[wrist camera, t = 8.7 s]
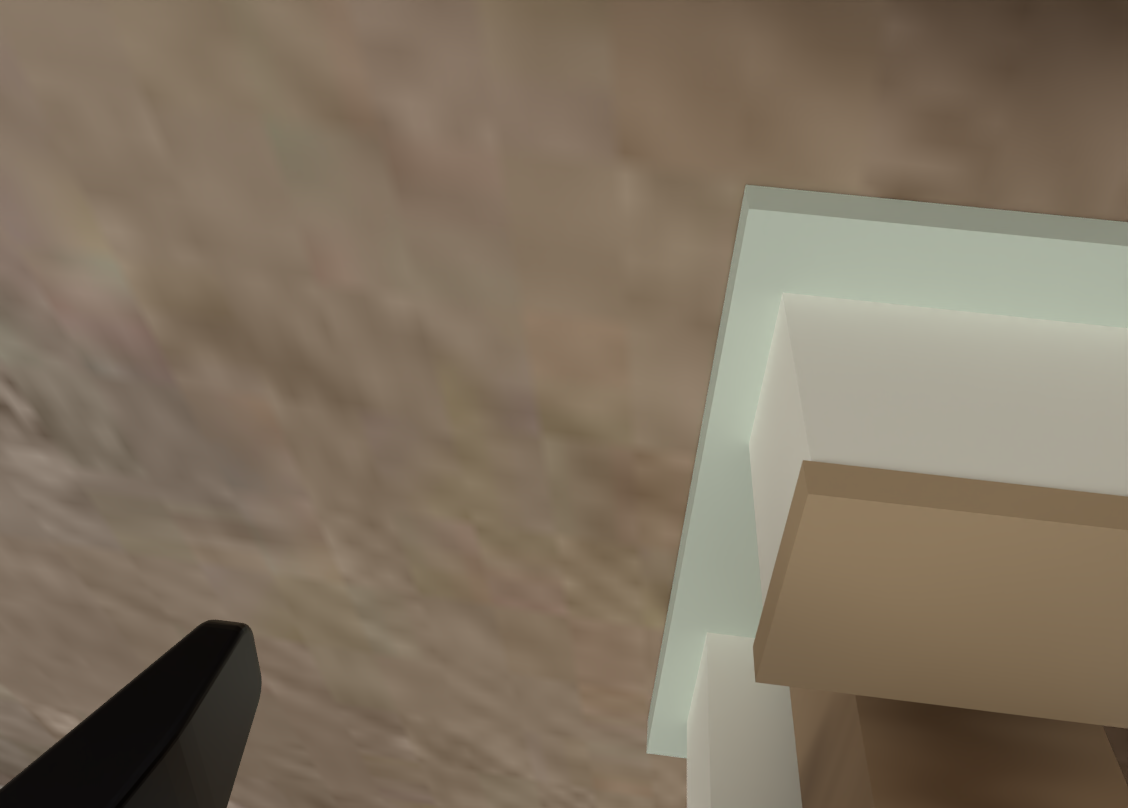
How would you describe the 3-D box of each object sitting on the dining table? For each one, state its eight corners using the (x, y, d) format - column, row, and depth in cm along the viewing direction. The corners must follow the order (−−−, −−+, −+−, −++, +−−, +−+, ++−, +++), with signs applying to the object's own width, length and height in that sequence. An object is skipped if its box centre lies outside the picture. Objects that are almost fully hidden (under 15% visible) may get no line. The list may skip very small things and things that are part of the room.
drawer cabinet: (1244, 233, 19) (1523, 485, 13) (967, 760, 30) (1043, 1041, 23) (746, 184, 19) (773, 404, 13) (647, 719, 30) (637, 984, 24)
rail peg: (1021, 505, 22) (1215, 956, 14) (958, 641, 25) (1089, 1083, 17) (814, 482, 22) (886, 912, 14) (775, 619, 25) (817, 1044, 17)
